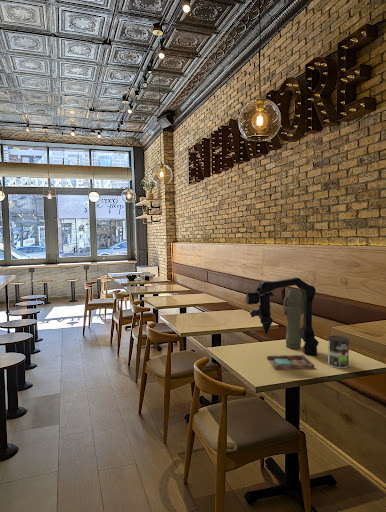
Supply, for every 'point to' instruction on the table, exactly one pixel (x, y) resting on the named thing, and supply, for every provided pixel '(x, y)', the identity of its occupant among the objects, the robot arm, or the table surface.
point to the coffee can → (338, 351)
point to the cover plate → (282, 362)
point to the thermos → (293, 318)
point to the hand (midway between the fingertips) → (265, 331)
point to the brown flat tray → (296, 361)
